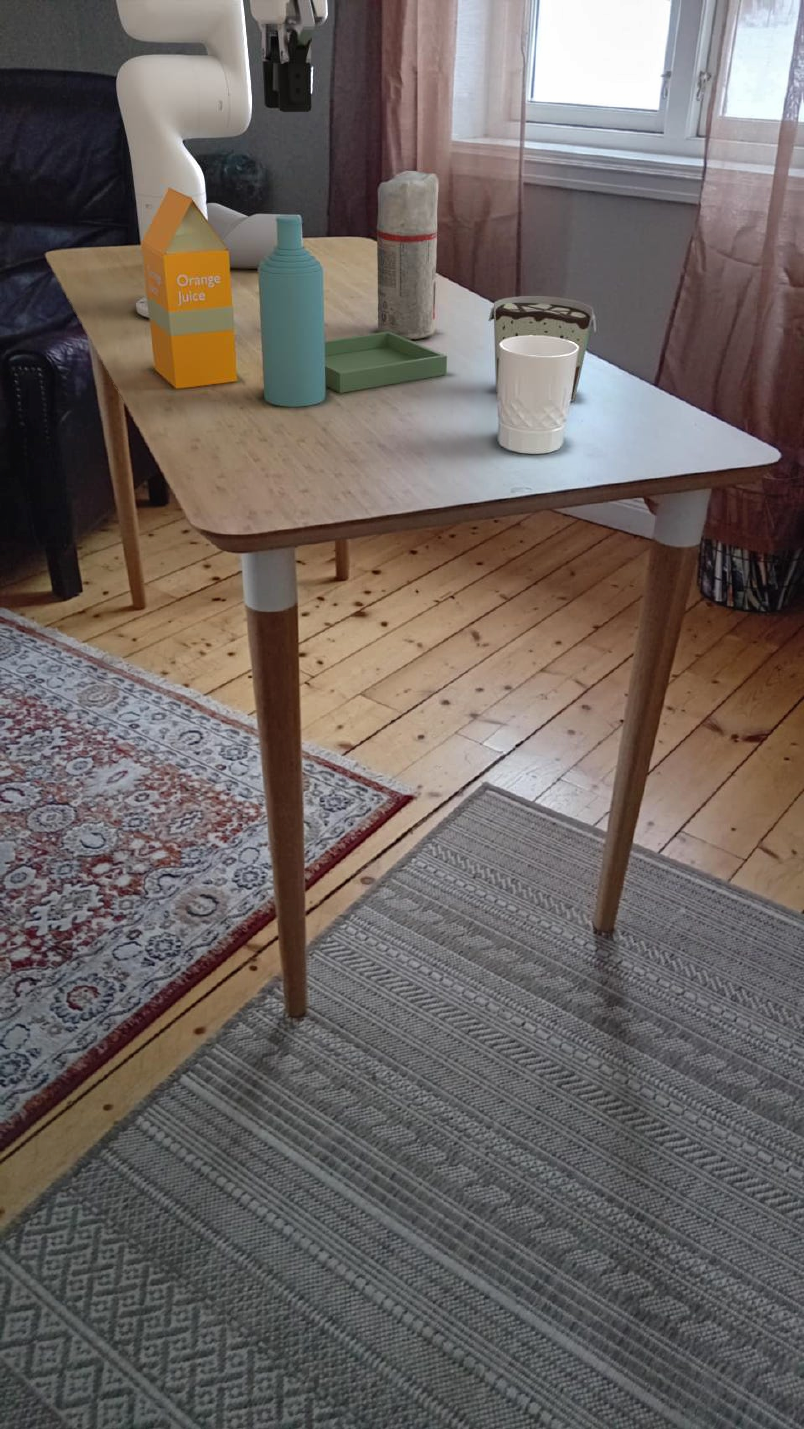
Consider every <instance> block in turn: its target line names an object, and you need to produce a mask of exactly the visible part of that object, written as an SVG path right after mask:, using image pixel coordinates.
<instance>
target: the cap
mask: <svg viewBox="0 0 804 1429" xmlns="http://www.w3.org/2000/svg"><path fill="white" fill-rule="evenodd" d="M277 64H282V63H273V90H275V91H278V77H277ZM313 75H314V66H312V65H311V95H312V94H313Z"/></svg>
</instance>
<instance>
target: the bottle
mask: <svg viewBox="0 0 804 1429" xmlns="http://www.w3.org/2000/svg"><path fill="white" fill-rule="evenodd" d="M281 215H282V216H278V217H277V218H276V221H277V245H278V246H276V247H274V251H271V252H270V253H269V255H268V256H266V257H265V260H263V261H261V262H260V266H259V267H258V269H257V276H258V279H257V280H258V296H259V299H258V300H259V316H260V317H259V318H260V335H261V336H260V337H261V355H262V356H261V357H262V359H261V360H262V378H263V379H262V380H263V394H264V395H263V396H264V397H263V398H264V400H265V401H266V402H267V403H270V404H272V405H275V406H280V407H290V408H299V407H309V406H314V405H318V404H320V403H322V402H324V401H325V399H326V385H325V344H324V341H325V296H324V295H325V294H324V293H325V292H324V267H323V266H322V264H321V262H320V261H319V260H317V257H315V256H314V255H312V253H311V252H310V251H309V250H307V248H306V247H305V246H303V227H301V225H302V223H303V220H302V216H300V217H299V216H294V215H295V214H281Z"/></svg>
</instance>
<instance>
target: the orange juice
mask: <svg viewBox="0 0 804 1429" xmlns="http://www.w3.org/2000/svg"><path fill="white" fill-rule="evenodd" d="M168 188H169V187H168ZM141 246H142V251H141V256H142V255H143V261H142V265H143V264H144V270H143V275H144V274H145V279H144V284H145V283H146V288H145V293H146V292H147V305H148V314H149V318H148V319H149V328H150V336H151V346H152V355H153V357H152V358H153V366H154V370H155V371H156V372H157V373H159V375H161V376H162V378H164V379H165V380H166V382H168V383H169V384H171V386H173V387H174V388H175V389H177V390H178V389H184V388H185V389H186V388H192V387H193V388H194V387H200V386H202V387H203V386H208V385H218V384H224V383H225V384H227V383H233V382H238V374H237V373H238V372H237V359H236V358H237V357H236V344H235V322H234V307H233V298H232V283H231V282H232V281H231V268H230V265H229V252H230V251H229V250H228V249H227V247H226V246H225V244H224V243H223V242H222V240H221V239H220V237H219V236H218V235H217V233H216V232H215V230H214V229H213V228H212V226H211V225H210V223H209V222H208V221H207V219H206V218H205V216H204V215H203V213H202V212H201V211H200V209H199V208H198V206H197V205H196V204H195V202H194V201H193V199H192V198H190V197H188V196H186V195H184V194H182V193H179V192H177V191H175V190H173V189H171V188H169V189H168V191H167V193H166V195H165V197H164V199H163V201H162V203H161V205H160V207H159V209H158V211H157V213H156V215H155V217H154V219H153V221H152V223H151V225H150V227H149V229H148V231H147V233H146V235H145V237H144V239H143V241H141V242H140V247H141Z"/></svg>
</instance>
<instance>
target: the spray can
mask: <svg viewBox="0 0 804 1429" xmlns="http://www.w3.org/2000/svg"><path fill="white" fill-rule="evenodd" d="M439 183H440V179H439V177H438V176H437V174H435V173H424V172H418V170H405V171H402V172H400V173H398V174H396V175H395V176H394V177H393V178H391V179H390V180H388V181H383V182H381V183H380V184H379V186H378V187H377V222H376V223H377V224H376V240H377V241H376V245H377V247H376V248H377V249H376V251H377V252H376V259H377V260H376V262H377V331H378V333H381V332H387V331H389V332H391V333H394V334H396V335H398V336H401V337H403V338H406V339H408V340H417V339H418V340H419V339H425V338H429V337H431V336H434V335H435V334H436V328H435V321H436V290H437V289H436V288H437V287H436V283H437V281H436V280H437V257H438V256H437V243H438V238H437V237H438V236H437V235H438V233H437V232H438V201H439V186H440V184H439Z"/></svg>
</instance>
